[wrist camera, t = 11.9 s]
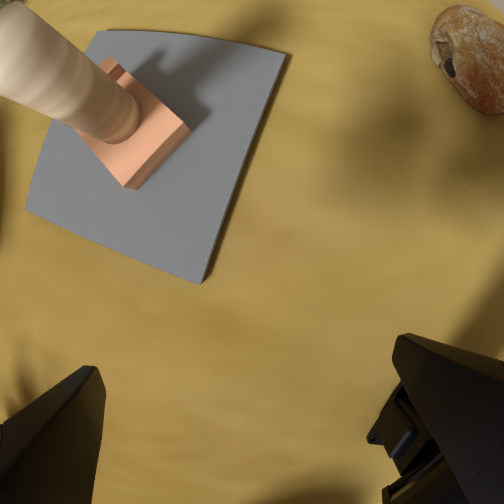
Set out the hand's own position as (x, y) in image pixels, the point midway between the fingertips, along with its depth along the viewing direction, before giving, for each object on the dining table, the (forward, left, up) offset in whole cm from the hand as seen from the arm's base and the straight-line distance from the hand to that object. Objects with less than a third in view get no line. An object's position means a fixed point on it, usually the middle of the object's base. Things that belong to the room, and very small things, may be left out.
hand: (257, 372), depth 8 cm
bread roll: (-11, -24, -11) cm, 29 cm away
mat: (+12, -7, -11) cm, 18 cm away
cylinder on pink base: (+12, -7, -10) cm, 17 cm away
